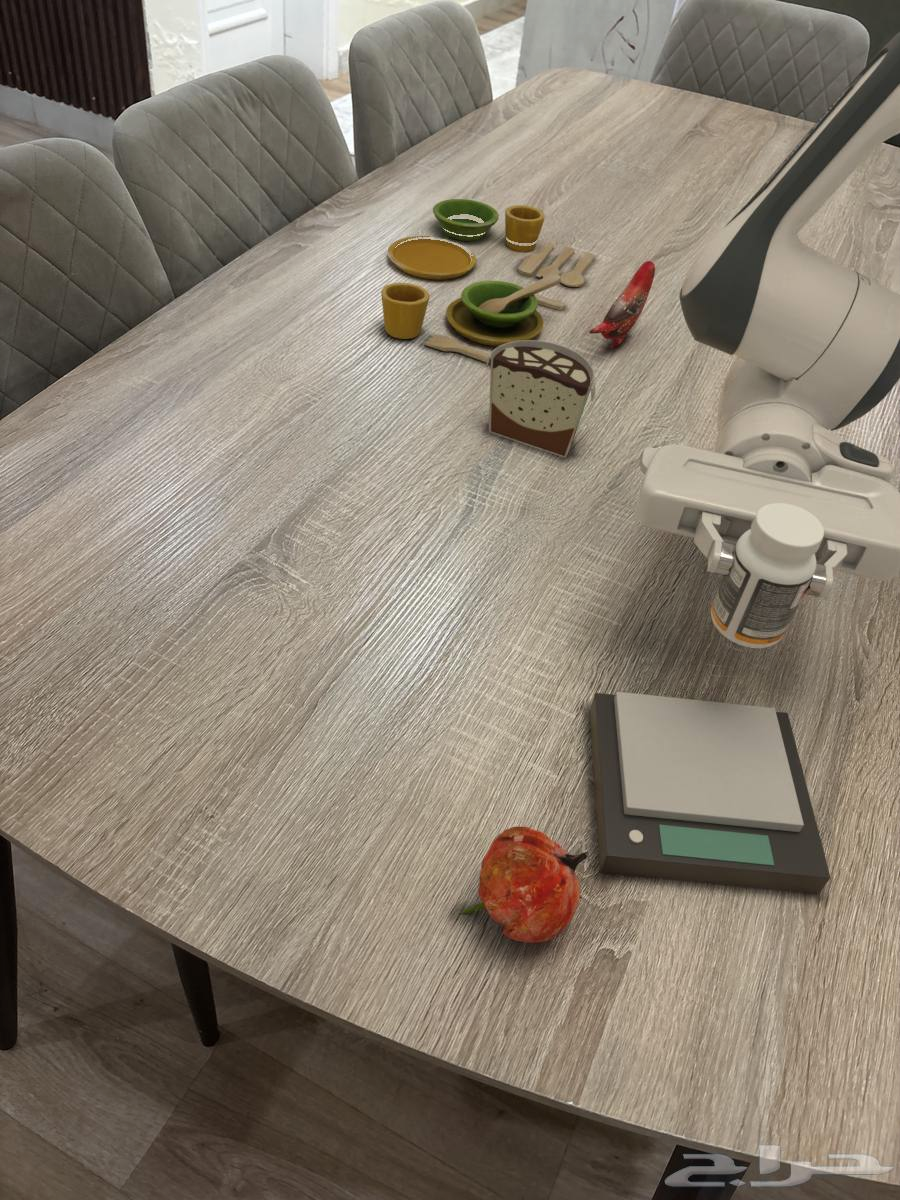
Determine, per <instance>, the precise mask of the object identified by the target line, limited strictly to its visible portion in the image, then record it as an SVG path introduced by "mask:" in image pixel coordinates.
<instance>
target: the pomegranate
mask: <svg viewBox="0 0 900 1200" xmlns="http://www.w3.org/2000/svg"><path fill="white" fill-rule="evenodd" d="M590 853H591V850H587V851H584V852H582V853H579V854H575V855H574V854H570V853H569V852H568V850H566V849H565V848H563V846H561V845H560V844H559V843H558V842H555V841H552V839H551V838H550V837H549V836H548V835H546V834H545V833H543V832H542V831H540V830H537V829H533V828H531V827H528V826H512V827H509V828H508V829H504V830H503V831H502V832H501V833H499V834H498V835H497V836H496V837H495V838H494V839H493V840H492V842H491V844H490V846H489V848H488V850H487V852H486V854H485V855H484V857H483V859H482V861H481V865H480V866H481V868H480V869H481V870H480V871H479V883H478V884H479V885H478V889H477V892H478V896H479V899H480V901H481V902H479V903H478V904H475V905H473V906H471V907H468V908H466V909H464V910H462V911H460V912H459V914H461V915H467V914H471V913H473V912H475V911H482V910H484V909H486V912H487V914H488V915H489V916H490V917H491V918H492V919H493V920H494V922H495V923H497V924H499V925H500V927H502V932H503V935H504V936H505V937H507V938H508V939H510V940H514V941H517V942H523V943H531V944H532V943H541V942H547V941H550V940H551V939H553V938H555V937H556V936H558V935H560V934H561V933H562V931H564V929H565V928H566V927H567V926H568V925H569V923H570V921H571V920H572V918H573V917H574V915H575V914H576V912H577V910H578V907H579V905H580V898H581V895H582V894H581V893H582V892H581V891H582V890H581V885H580V881H579V878H578V875H577V873H576V870H577V867H578V865H580V863H582V862H584V861H585V860H587V859H588V858H589V857H590Z"/></svg>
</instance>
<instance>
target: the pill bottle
mask: <svg viewBox="0 0 900 1200" xmlns="http://www.w3.org/2000/svg"><path fill="white" fill-rule="evenodd" d="M823 536H824V529H823V526H822V524H821V523H820V521H819V520H818V519H817V518H816V517H815V516H814V515H812V514H811V513H809V512H808V511H806V510H804V509H802V508H800V507H797V506H794V505H790V504H785V503H772V504H768V505H765V506H763V507H762V508H760V509H759V510H758V512H757V513H756V515H755V518H754V520H753V522H752V524H751V529H750V530H748V531H746V532H745V533H744V534H743V535H742V536H741V537H740V538H739V540H738V542H737V544H736V546H735V549H734V562H733V565H732V567H731V568H730V572H729V575H728V576H725V575H723V576H722V578H721V582H720V584H719V586H718V588H717V591H716V594H715V596H714V599H713V601H712V605H711V608H710V614H711V615H710V616H711V620H712V623H713V625H714V627H715V628H716V630H717V631H719V633H720V635H722V636H724V637H725V638H726V639H728V640H729V641H731V642H733V643H735V644H737V645H739V646H743V647H746V648H752V649H765V648H768V647H772V646H774V645H776V644H778V643H779V642H780V641H781V640H782V639H783V637H784V636H785V634H786V632H787V630H788V628H789V626H790V624H791V622H792V620H793V618H794V616H795V614H796V611H797V610H798V607H799V606H800V603H801V601H802V599H803V597H804V595H805V594H804V593H805V591H806V589H807V587H808V585H809V583H810V581H811V579H812V577H813V575H814V573H815V570H816V557H815V554H814V553H815V552H816V551H817V550H818V549H819V546H820V544H821V542H822V539H823Z"/></svg>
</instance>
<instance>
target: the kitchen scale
mask: <svg viewBox="0 0 900 1200" xmlns="http://www.w3.org/2000/svg"><path fill="white" fill-rule="evenodd" d="M588 713H589V729H590V742H591V755H592V756H591V758H592V759H591V760H592V775H593V788H594V790H593V791H594V804H595V805H594V806H595V820H596V821H595V822H596V835H597V851H598V864H599V865H598V867H599V873H601V874H611V875H619V876H629V877H639V878H648V879H649V878H650V879H659V880H670V881H679V882H688V883H699V884H700V883H701V884H707V885H708V884H710V885H720V886H729V887H740V888H750V889H760V890H771V891H780V892H788V893H799V894H810V895H820V893H821V892H822V891H823V889H824V888H825V887H826V885H827V884H828V882H829V881H830V880H831V873H830V870H829V866H828V863H827V859H826V855H825V850H824V847H823V842H822V839H821V835H820V832H819V827H818V824H817V823H818V822H817V820H816V817H815V812H814V809H813V804H812V801H811V796H810V793H809V790H808V786H807V785H808V784H807V781H806V777H805V774H804V770H803V766H802V763H801V759H800V755H799V751H798V747H797V744H796V739H795V736H794V732H793V728H792V724H791V720H790V716H789V713H788V712H785V711H784V712H782V711H776V708H775V707H768V706H759V705H749V704H741V703H729V702H720V701H711V700H703V699H702V700H701V699H693V698H683V697H673V696H665V695H664V696H662V695H653V694H643V693H634V692H626V691H615V694H611V693H603V692H594V695H593V698H592V701H591V704H590V707H589V712H588Z"/></svg>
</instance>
